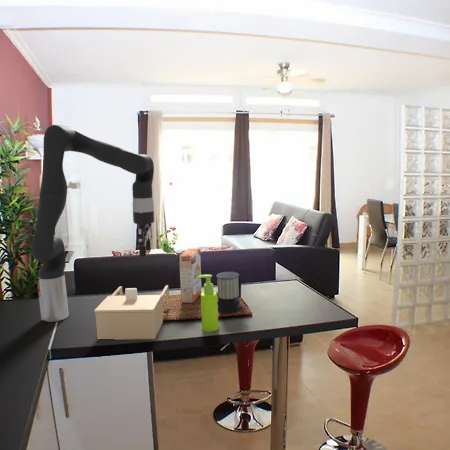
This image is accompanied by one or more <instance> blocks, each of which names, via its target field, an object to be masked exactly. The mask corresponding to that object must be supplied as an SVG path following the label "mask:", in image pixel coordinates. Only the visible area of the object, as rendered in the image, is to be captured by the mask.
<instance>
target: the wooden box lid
mask: <svg viewBox="0 0 450 450" xmlns="http://www.w3.org/2000/svg"><path fill="white" fill-rule="evenodd" d="M124 291H125V295H122V296H120V295H116V296H111V295H107V296H106V297H105V298H104V299H103V300H102V301H101V303H100V304H99V305H97V307H96V308H95V309H94V313H104V312H154V310H155V308H156V306H157V305H158V303H159V301H160V299H161V298H162V295H161V294H138V289H137V287H130V288H129V287H127V288H126V287H125V290H124ZM162 299H163V298H162Z"/></svg>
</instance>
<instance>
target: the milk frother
mask: <svg viewBox="0 0 450 450" xmlns="http://www.w3.org/2000/svg"><path fill="white" fill-rule="evenodd" d="M216 278H217V279H216V280H217V281H216V282H217V283H216V284H217V285H216V286H217V292H216V293H217V304H218V313H221V314H224V315H231V314H237V313H239V312H240V311H241V305H240V298H241V297H242V277H241V275H240V274H239V273H238V272H236V271H222V272H219V273H217V274H216Z"/></svg>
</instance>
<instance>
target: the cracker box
mask: <svg viewBox="0 0 450 450" xmlns="http://www.w3.org/2000/svg"><path fill="white" fill-rule="evenodd" d="M178 257H179V279H180V280H179V281H180V302H181V303H184V304H194V302H196V301H197V298H199V296H201V293H202V278H199V279H198V278H197V276H199V275H202V272H201V270H202V269H201V268H202V267H201V266H202V265H201V262H202V261H201V249H200V248H188V249H186V250H185V251H184V252H183V253H181V254H179V256H178Z"/></svg>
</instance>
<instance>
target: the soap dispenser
mask: <svg viewBox="0 0 450 450" xmlns="http://www.w3.org/2000/svg"><path fill="white" fill-rule="evenodd" d="M197 278H198V279H199V278H201V279H205V283H204V284H203V291H201V294H200V307H201V309H200V311H201V328H202V329H201V330H202V331H204V332H208V333H210V332H212V333H213V332H216V331H217V330H218V329H219V311H218V304H217V302H218V297H217V293H218V292H216V291H215V290H214V283H212V282H211V281H212V279H211V278H213V275H212V274H201V275H199V276H197Z"/></svg>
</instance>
